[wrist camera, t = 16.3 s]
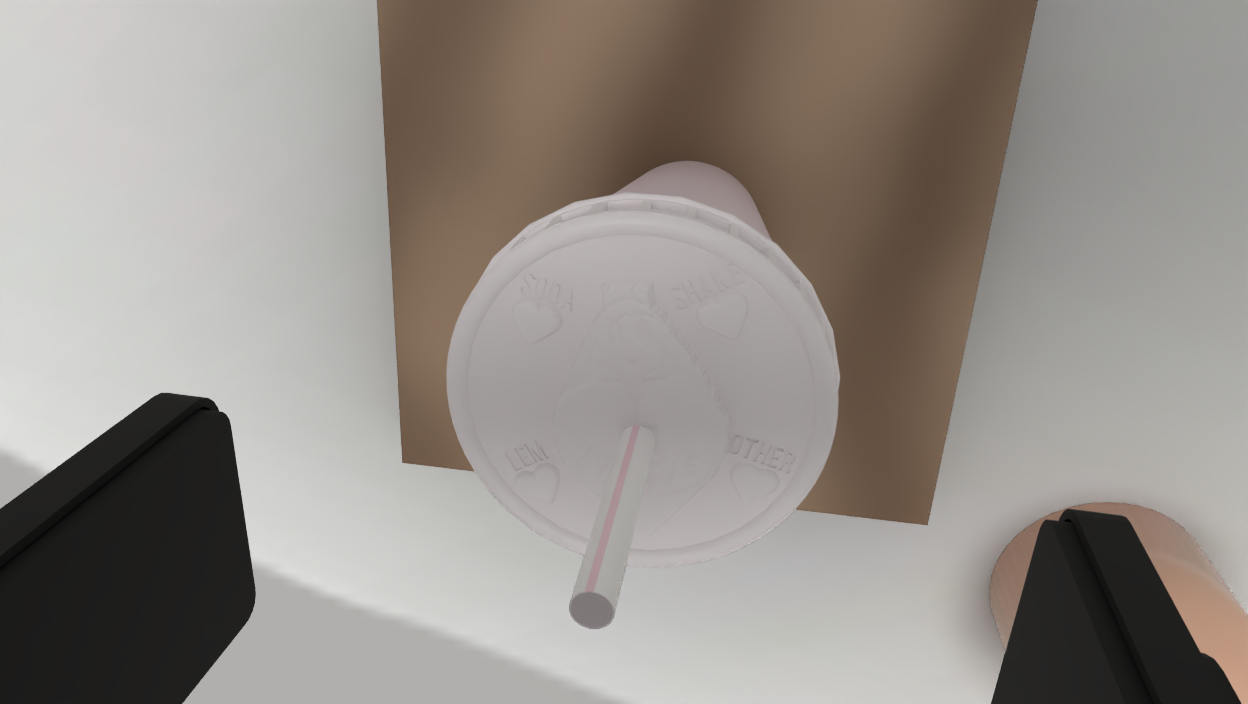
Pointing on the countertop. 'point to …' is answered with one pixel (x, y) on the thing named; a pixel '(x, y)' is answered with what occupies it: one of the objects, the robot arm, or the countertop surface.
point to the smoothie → (645, 379)
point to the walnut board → (735, 142)
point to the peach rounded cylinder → (1183, 568)
